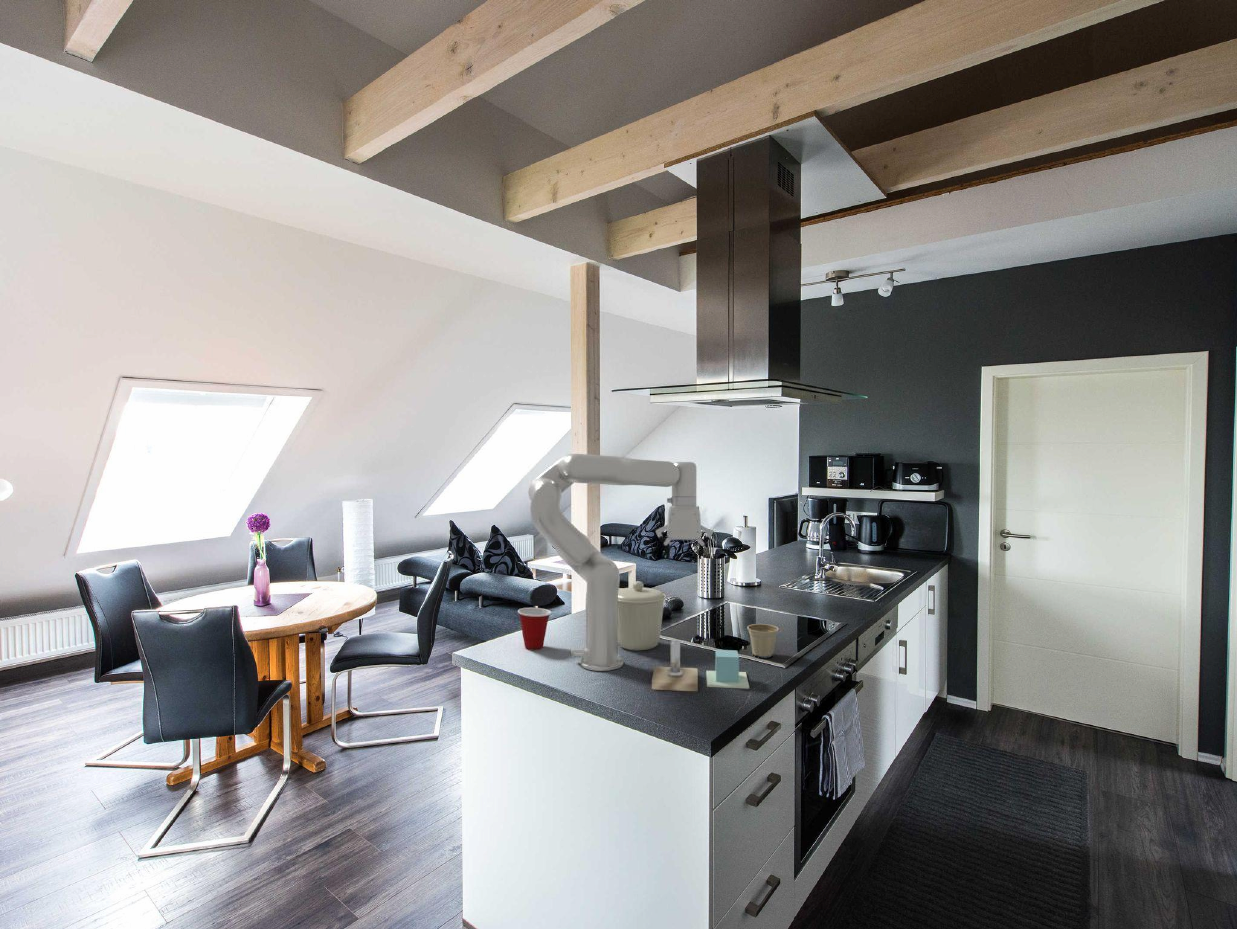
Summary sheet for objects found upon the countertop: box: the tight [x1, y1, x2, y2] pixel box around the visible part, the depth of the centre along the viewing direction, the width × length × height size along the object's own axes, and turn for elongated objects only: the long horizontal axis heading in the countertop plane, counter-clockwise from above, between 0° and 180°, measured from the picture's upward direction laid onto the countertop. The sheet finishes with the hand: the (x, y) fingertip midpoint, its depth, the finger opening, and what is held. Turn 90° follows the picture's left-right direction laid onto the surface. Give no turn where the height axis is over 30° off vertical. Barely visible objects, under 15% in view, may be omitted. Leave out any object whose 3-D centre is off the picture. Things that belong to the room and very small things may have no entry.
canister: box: [618, 580, 667, 652], centre depth 202 cm, size 18×18×21 cm
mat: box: [705, 670, 750, 690], centre depth 171 cm, size 11×11×1 cm
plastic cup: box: [517, 607, 552, 650], centre depth 201 cm, size 11×11×12 cm
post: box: [668, 639, 683, 677], centre depth 170 cm, size 4×4×9 cm
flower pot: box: [746, 623, 779, 656], centre depth 192 cm, size 9×9×9 cm
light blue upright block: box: [714, 649, 740, 683], centre depth 171 cm, size 6×6×7 cm
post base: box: [651, 666, 699, 692], centre depth 170 cm, size 12×12×2 cm
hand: (684, 558), depth 191 cm, fingers open, 9 cm apart
